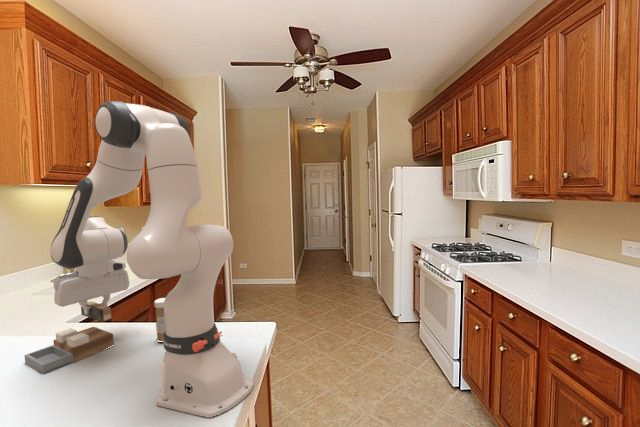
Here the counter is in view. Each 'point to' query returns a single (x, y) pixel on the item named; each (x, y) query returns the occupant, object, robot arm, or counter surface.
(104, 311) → the tan wooden bar
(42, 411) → the counter surface
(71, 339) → the tile
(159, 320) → the sprinkles bottle
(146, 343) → the counter surface
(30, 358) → the tray
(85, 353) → the board
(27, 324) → the counter surface
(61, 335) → the tile
